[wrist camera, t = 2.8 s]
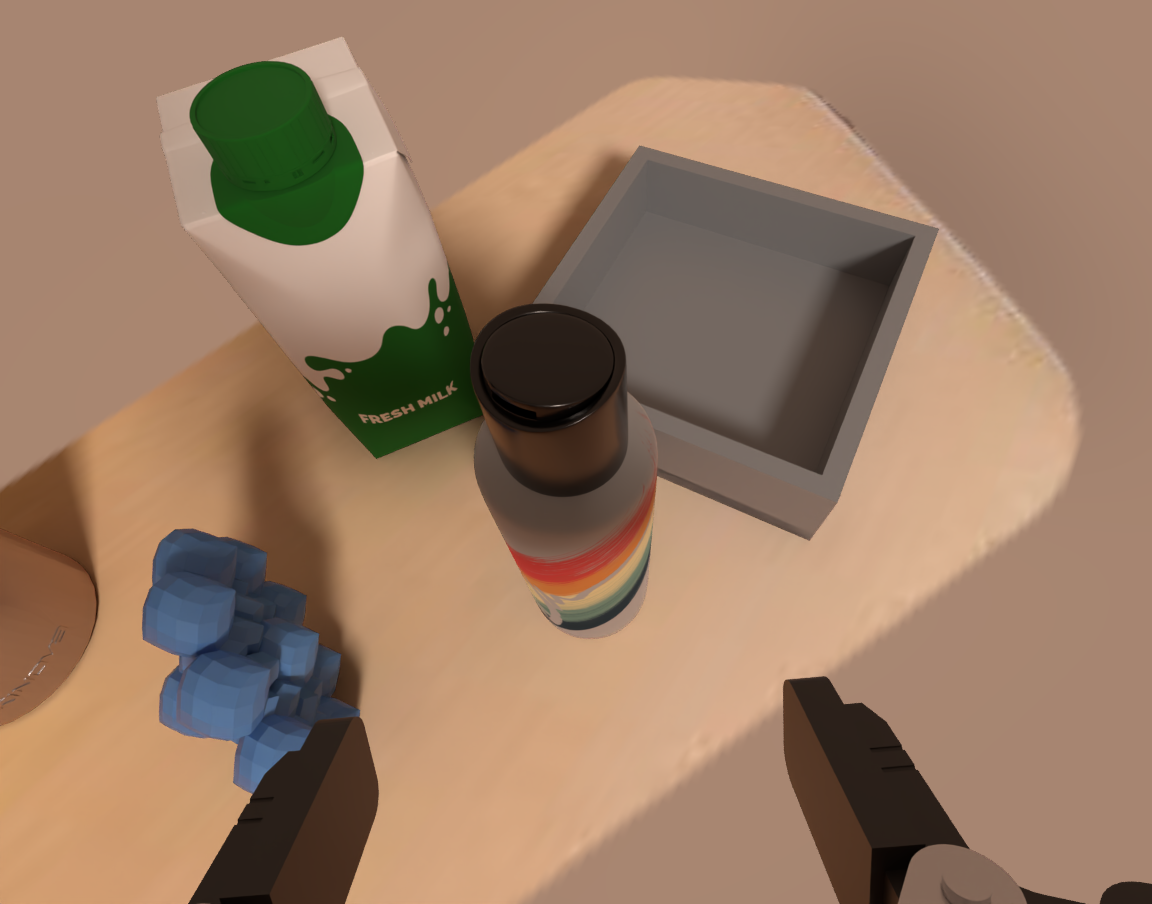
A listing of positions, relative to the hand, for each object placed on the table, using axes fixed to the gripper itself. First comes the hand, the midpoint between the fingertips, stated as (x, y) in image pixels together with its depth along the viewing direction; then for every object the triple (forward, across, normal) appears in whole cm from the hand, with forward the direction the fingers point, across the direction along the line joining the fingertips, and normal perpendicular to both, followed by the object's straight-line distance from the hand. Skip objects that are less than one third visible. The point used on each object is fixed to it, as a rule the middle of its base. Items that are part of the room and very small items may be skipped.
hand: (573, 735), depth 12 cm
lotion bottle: (+19, 0, +8) cm, 21 cm away
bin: (+29, -8, -2) cm, 30 cm away
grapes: (+17, +14, +11) cm, 24 cm away
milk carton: (+29, +10, -1) cm, 30 cm away
